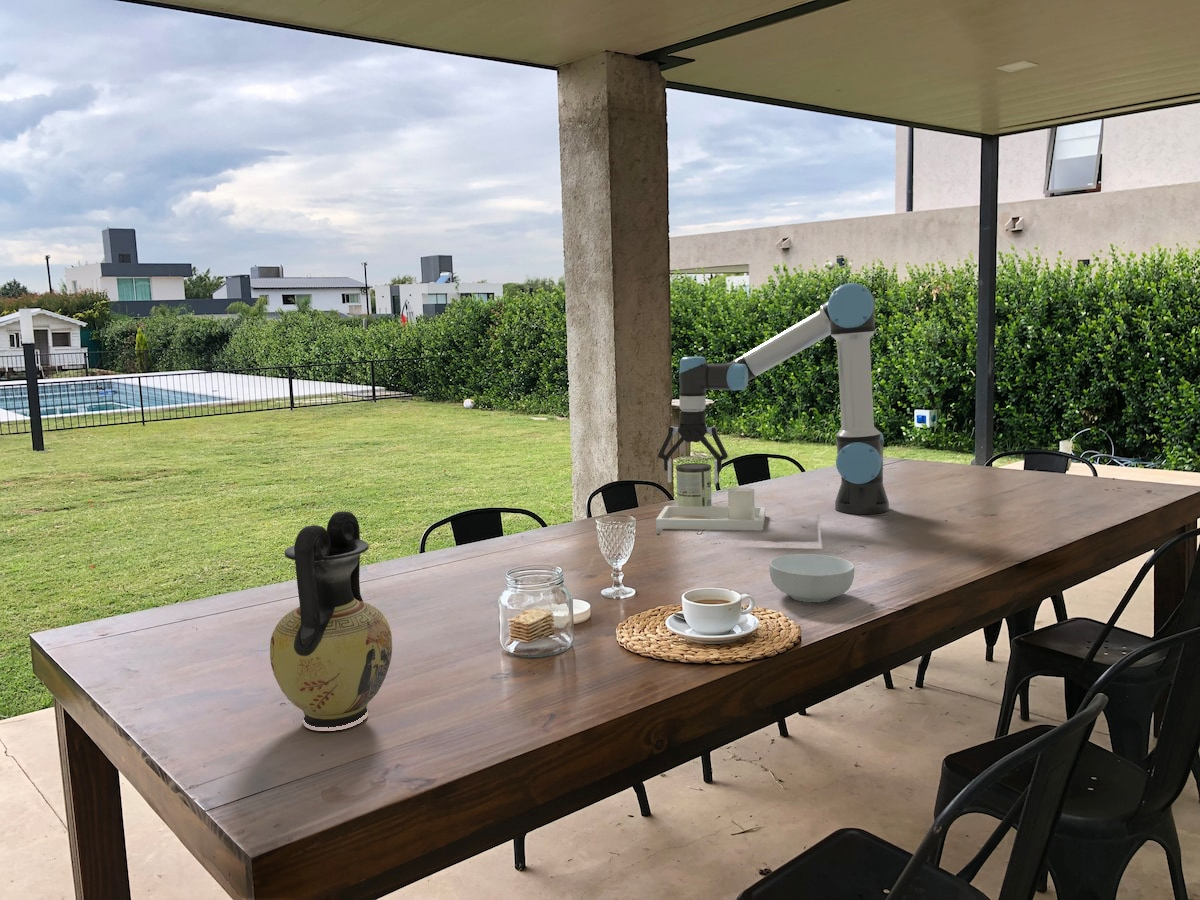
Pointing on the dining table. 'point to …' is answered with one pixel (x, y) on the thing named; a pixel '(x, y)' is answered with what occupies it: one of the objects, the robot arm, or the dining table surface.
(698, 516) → the tray
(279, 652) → the amphora
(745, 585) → the dining table surface
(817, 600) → the cereal bowl
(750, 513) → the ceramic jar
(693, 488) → the coffee can
